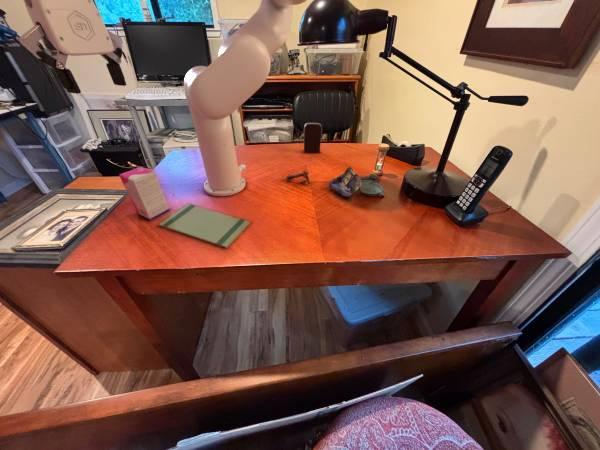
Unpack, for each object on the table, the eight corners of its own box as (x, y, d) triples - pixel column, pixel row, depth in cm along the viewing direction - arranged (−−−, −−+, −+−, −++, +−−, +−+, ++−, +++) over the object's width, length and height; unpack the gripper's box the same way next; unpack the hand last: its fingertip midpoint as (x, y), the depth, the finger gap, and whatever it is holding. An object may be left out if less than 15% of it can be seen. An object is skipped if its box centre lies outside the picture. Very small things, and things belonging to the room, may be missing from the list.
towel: (188, 205, 67) (187, 203, 66) (250, 223, 61) (249, 221, 61) (159, 226, 60) (158, 223, 59) (226, 248, 54) (225, 246, 53)
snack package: (374, 196, 73) (356, 177, 81) (376, 178, 68) (357, 160, 77) (338, 207, 71) (323, 187, 79) (337, 190, 67) (322, 170, 75)
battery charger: (319, 149, 100) (321, 121, 93) (320, 153, 97) (322, 124, 90) (303, 149, 100) (303, 121, 93) (303, 153, 97) (304, 124, 90)
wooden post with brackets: (311, 184, 75) (306, 171, 73) (290, 188, 80) (285, 176, 78) (313, 181, 77) (309, 168, 75) (293, 185, 81) (288, 173, 79)
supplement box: (170, 209, 65) (155, 171, 58) (150, 221, 61) (131, 181, 54) (157, 203, 67) (140, 165, 60) (136, 214, 63) (116, 174, 56)
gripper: (-11, -44, 32) (65, 98, 43) (112, -22, 44) (147, 84, 55) (-41, -41, 34) (40, 94, 45) (85, -20, 47) (124, 81, 57)
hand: (99, 88), depth 50 cm, fingers open, 9 cm apart
